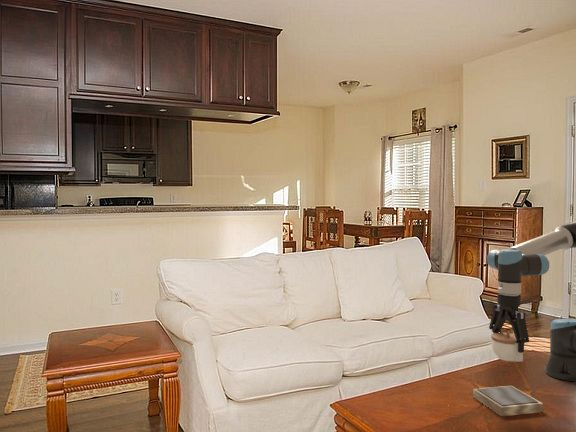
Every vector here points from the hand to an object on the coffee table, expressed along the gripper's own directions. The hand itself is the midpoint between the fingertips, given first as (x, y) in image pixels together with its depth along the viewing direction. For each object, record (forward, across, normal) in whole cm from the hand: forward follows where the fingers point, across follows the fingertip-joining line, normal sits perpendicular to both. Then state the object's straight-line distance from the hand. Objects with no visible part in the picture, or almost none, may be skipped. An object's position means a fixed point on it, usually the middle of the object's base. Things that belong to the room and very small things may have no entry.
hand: (507, 355), depth 170 cm
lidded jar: (+1, 0, 0) cm, 1 cm away
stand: (+17, 0, 0) cm, 17 cm away
